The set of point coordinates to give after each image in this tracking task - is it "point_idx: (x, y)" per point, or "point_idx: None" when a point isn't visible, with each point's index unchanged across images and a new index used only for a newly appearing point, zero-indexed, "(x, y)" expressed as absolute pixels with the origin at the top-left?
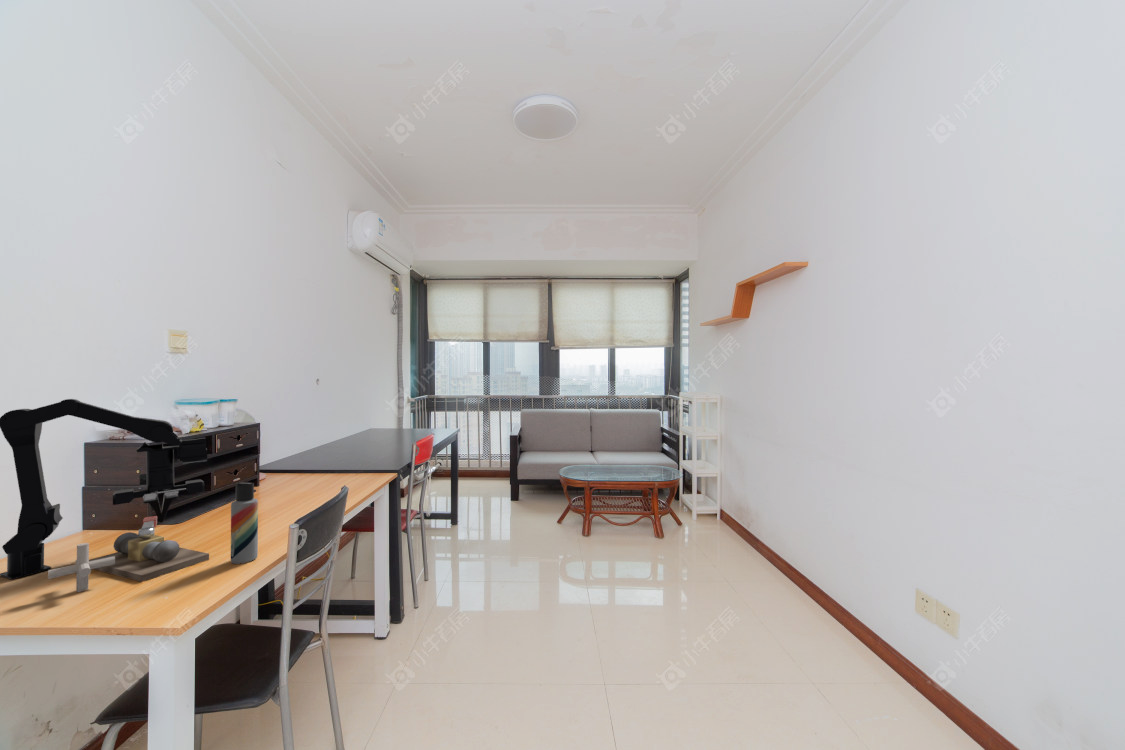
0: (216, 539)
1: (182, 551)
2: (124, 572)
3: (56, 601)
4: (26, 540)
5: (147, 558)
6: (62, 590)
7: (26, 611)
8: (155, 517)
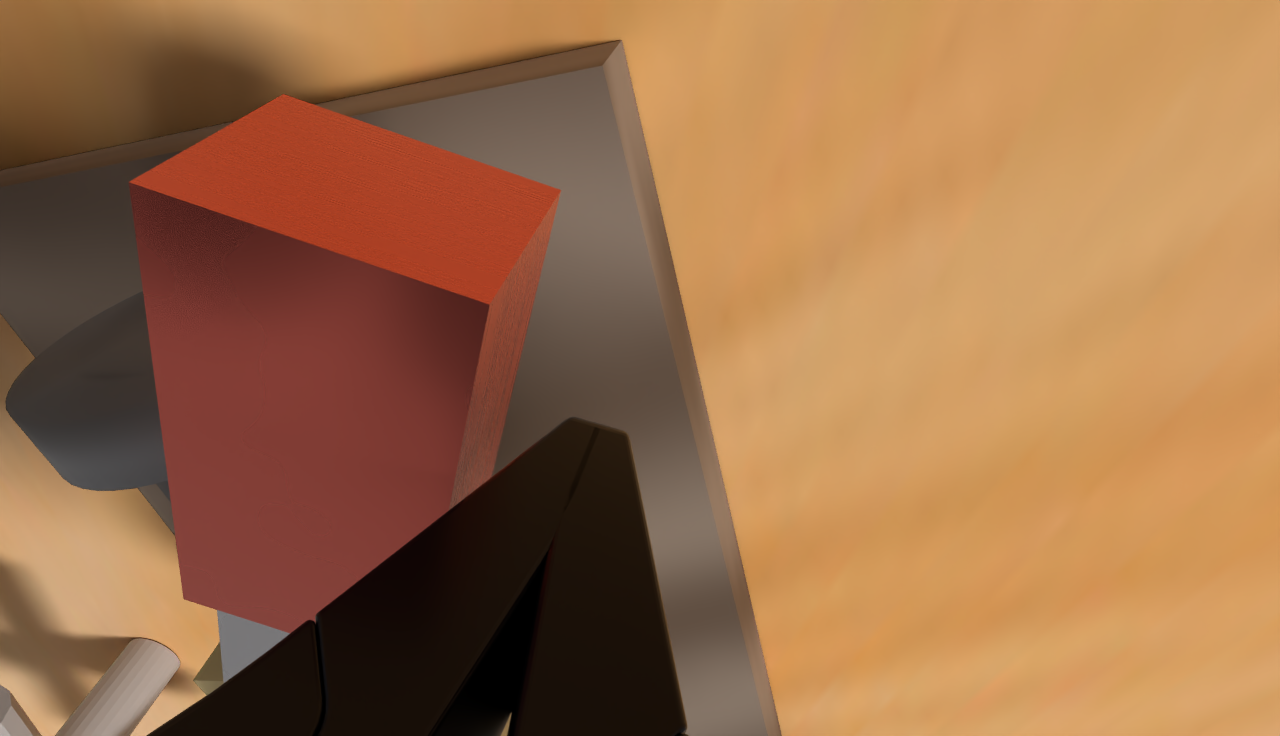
0: (1264, 443)
1: (698, 698)
2: None
3: (84, 685)
4: None
5: None
6: (47, 579)
7: (3, 686)
8: (426, 485)
